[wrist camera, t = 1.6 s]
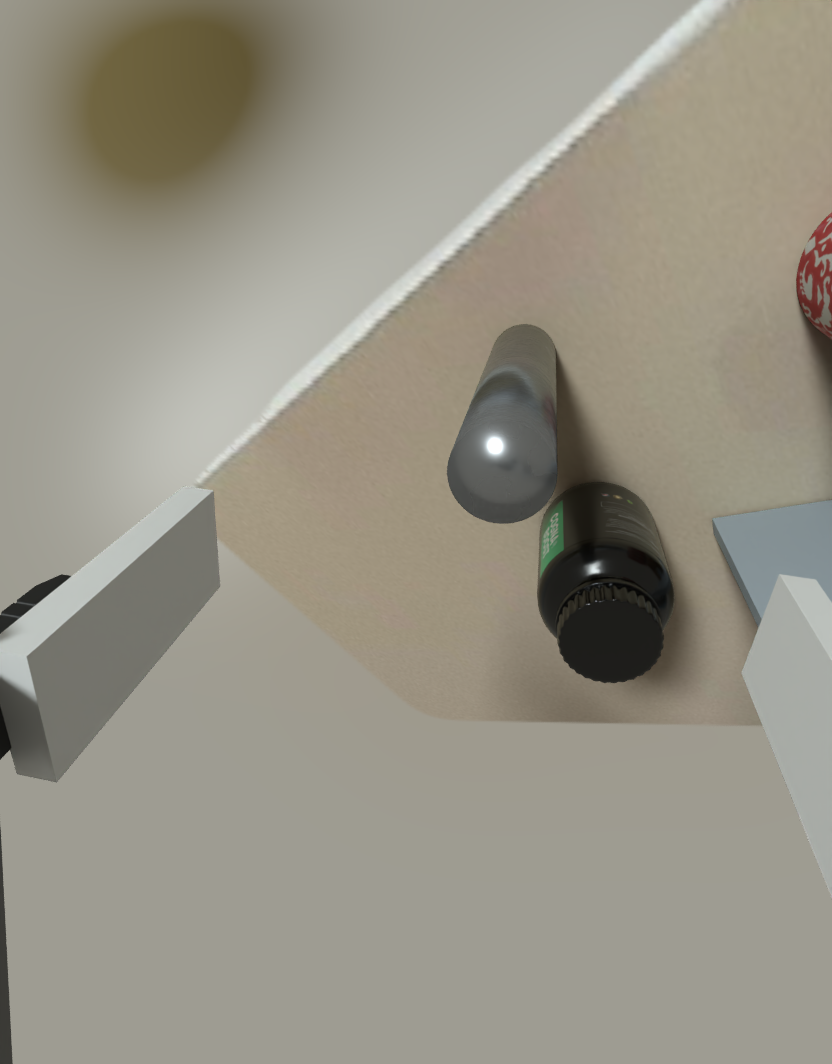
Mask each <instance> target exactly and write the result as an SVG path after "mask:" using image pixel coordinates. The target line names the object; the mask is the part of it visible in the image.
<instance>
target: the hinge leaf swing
mask: <svg viewBox="0 0 832 1064" xmlns="http://www.w3.org/2000/svg"><path fill="white" fill-rule="evenodd" d="M712 521H713V531H714V535H715V537H716V539H717V541H718V543H719V545H720V548H721V550H722V552H723V554H724V556H725V558H726V560H727V562H728V564H729V567H730V569H731V571H732V573H733V575H734V577H735V579H736V581H737V583H738V586H739V588H740V590H741V592H742V594H743V596H744V598H745V600H746V602H747V605H748V607H749V609H750V611H751V613H752V615H753V617H754V619H755V621H756V624H757V626H758V628H759V626H760V623H761V620H762V618H763V615H764V612H765V610H766V607H767V605H768V602H769V599H770V597H771V594H772V591H773V589H774V586H775V584H776V581H777V578H778V576H779V574H782V575H789V576H795V577H802V578H809V579H816V580H817V582H818V583H819V585H820V586H821V588H822V589H823V591H824V592H825V593H826V595H827V596H828V598H829V599H830V601H831V602H832V500H828V501H821V502H815V503H808V504H802V505H796V506H789V507H783V508H776V509H770V510H764V511H757V512H751V513H745V514H738V515H732V516H725V517H719V518H713V519H712Z"/></svg>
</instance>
